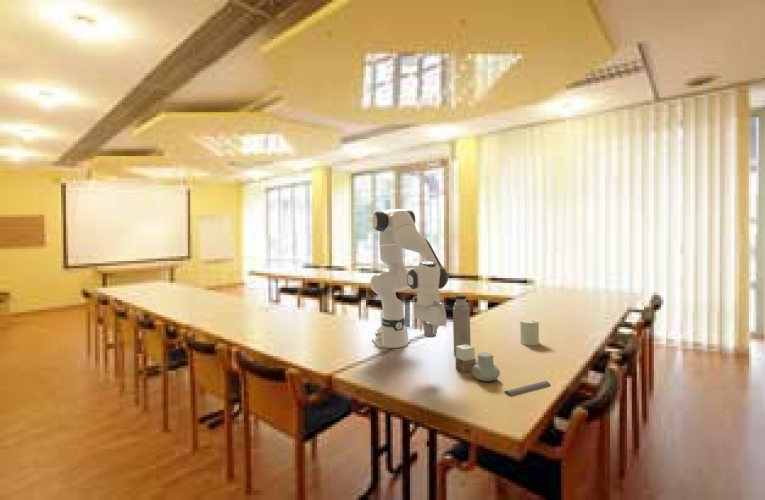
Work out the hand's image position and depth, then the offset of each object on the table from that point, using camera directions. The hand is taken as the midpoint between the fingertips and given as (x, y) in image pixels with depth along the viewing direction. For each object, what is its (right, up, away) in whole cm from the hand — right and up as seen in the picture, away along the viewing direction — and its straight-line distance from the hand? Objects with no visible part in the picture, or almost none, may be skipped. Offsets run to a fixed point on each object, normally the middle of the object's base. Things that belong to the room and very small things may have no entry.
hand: (430, 332), depth 175 cm
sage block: (+15, -11, +1) cm, 19 cm away
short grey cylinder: (0, -2, 0) cm, 2 cm away
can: (+56, -13, +37) cm, 68 cm away
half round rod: (+34, -18, -22) cm, 44 cm away
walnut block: (+15, -16, +2) cm, 23 cm away
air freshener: (+21, -17, -10) cm, 29 cm away
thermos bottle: (+18, -15, +23) cm, 33 cm away
